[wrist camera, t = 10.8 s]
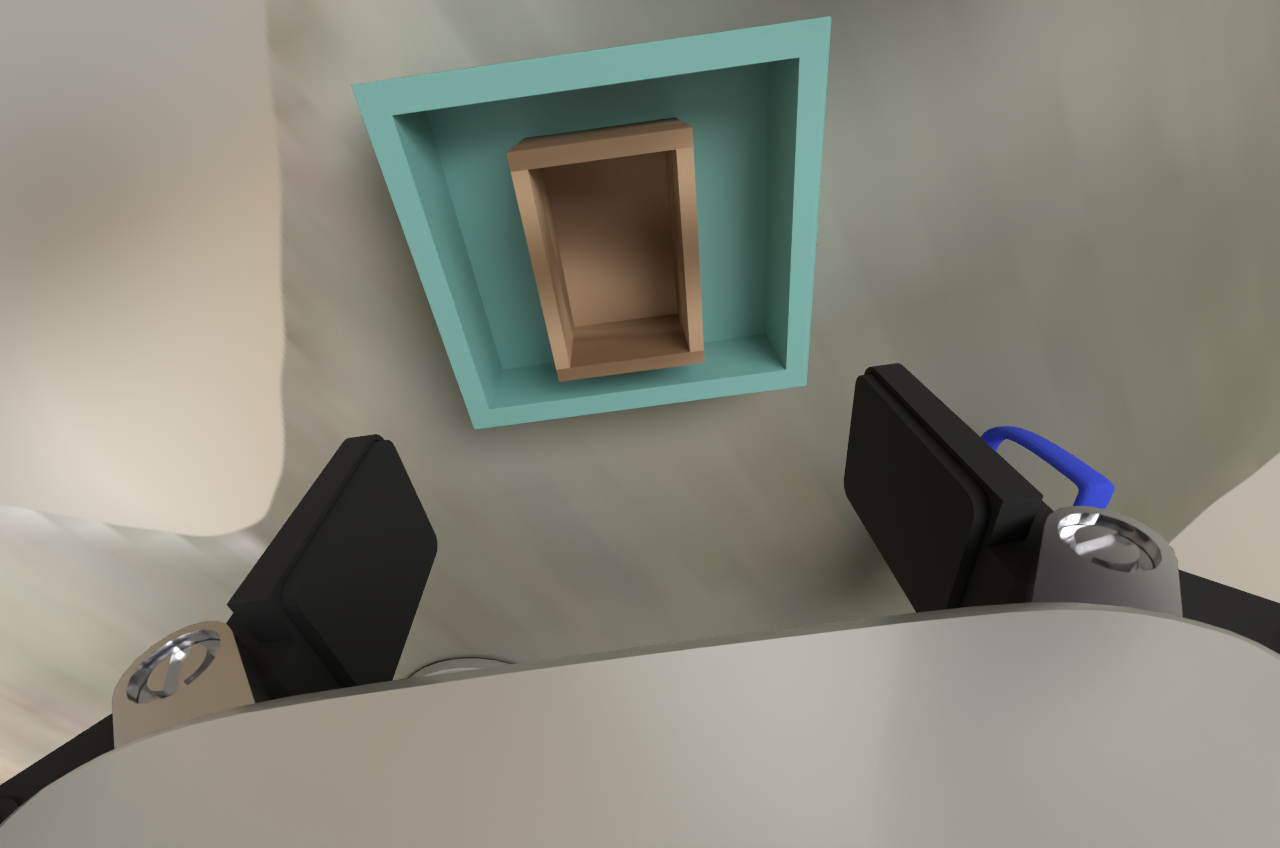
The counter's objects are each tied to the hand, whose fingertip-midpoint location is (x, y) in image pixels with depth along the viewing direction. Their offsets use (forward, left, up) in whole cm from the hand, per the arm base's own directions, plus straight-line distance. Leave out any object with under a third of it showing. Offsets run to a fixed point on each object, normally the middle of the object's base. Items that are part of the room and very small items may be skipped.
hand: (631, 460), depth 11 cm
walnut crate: (0, 0, -17) cm, 17 cm away
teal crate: (0, 0, -18) cm, 18 cm away
